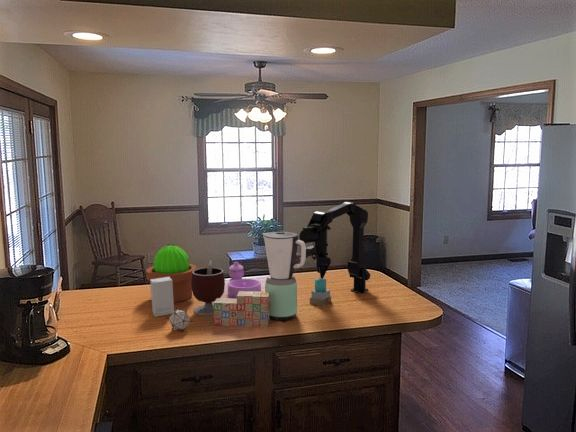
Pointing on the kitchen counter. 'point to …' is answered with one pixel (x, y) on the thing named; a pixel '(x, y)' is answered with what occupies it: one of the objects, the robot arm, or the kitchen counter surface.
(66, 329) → the kitchen counter surface
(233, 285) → the purple toy boat
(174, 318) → the game die
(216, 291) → the mate gourd
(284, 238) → the blender
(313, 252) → the robot arm
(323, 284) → the teal domed cylinder
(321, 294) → the tower top
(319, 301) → the tower base
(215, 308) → the stack of blocks
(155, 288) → the skincare box
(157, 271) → the potted cactus
